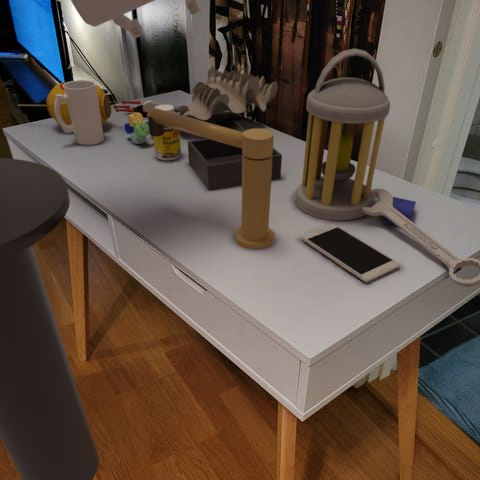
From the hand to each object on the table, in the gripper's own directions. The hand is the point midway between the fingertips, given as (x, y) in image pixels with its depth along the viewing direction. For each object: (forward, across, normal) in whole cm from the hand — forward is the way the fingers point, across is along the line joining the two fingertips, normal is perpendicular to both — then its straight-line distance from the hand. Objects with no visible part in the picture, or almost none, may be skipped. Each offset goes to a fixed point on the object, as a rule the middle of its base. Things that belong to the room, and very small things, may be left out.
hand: (166, 22), depth 72 cm
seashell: (+46, +7, -20) cm, 50 cm away
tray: (+32, +1, +4) cm, 32 cm away
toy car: (+42, +2, -14) cm, 44 cm away
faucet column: (+20, -4, +28) cm, 34 cm away
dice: (+32, +23, -12) cm, 41 cm away
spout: (+10, 0, +16) cm, 19 cm away
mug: (+28, +35, -13) cm, 46 cm away
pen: (+47, +17, -28) cm, 57 cm away
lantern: (+32, -17, +18) cm, 40 cm away
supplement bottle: (+31, +15, -4) cm, 35 cm away
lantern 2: (+32, +21, -21) cm, 44 cm away
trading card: (+40, +17, -21) cm, 48 cm away
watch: (+38, +22, -27) cm, 52 cm away
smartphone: (+23, -18, +33) cm, 44 cm away
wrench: (+28, -29, +32) cm, 51 cm away
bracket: (+33, -27, +24) cm, 49 cm away
